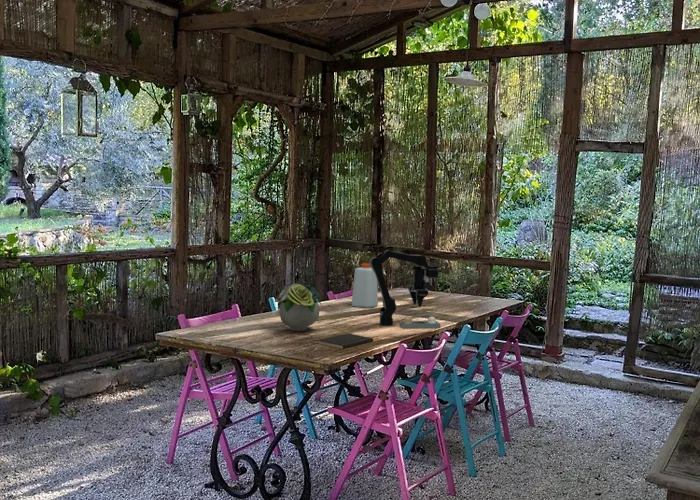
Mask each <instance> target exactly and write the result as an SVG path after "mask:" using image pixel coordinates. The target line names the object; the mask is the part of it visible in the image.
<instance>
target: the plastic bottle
mask: <svg viewBox="0 0 700 500" xmlns="http://www.w3.org/2000/svg"><path fill="white" fill-rule="evenodd" d="M353 275H354V277H353V287H352V296H351V306H352V307H354V306H356V307H355V308H362V307H364V308H363V309H372V308H375V307H378V305H379V293H378V281H377V278H376V275H375V273H374V271H373V270H372V268H371V266H370V264H369V263H364V262H363V263H361V267H356V268H355V269H354V274H353Z"/></svg>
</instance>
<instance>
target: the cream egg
mask: <svg viewBox="0 0 700 500" xmlns="http://www.w3.org/2000/svg"><path fill="white" fill-rule="evenodd" d="M427 321H428V323H436V318H435V317H434V316H429V317H428V318H427Z"/></svg>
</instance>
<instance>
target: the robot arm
mask: <svg viewBox="0 0 700 500" xmlns="http://www.w3.org/2000/svg"><path fill="white" fill-rule="evenodd" d="M390 258H391V259H396V260H399V261H400V260H401V261H404V262H409V263H412V264H413V265H412V266H410V269H411V270H413V278H412V279H411V280H412V282H413V284H412V285H409V286H408V288H407V291H408V294H409V295H410V297H411V301H412V303H413V305H416V304H417V306H418V307H419V308H421V307H422V305H423V301H424V299H425V298H426V297H427V296H429V292H433V290H434V288H435V286H434V285H431V283H430V282H429V281H426V280H425V277H426V278H427V279H438V277H439V270H438V265H429V264H428V262H427V258H426V257H425V256H424V255H421V254H408V253H402V252H399V251H392V250H389V249H386V250H384V251H383V252H381V253H380V254H377V255H376V256H372V257H370V258H369V260H368V264H370V266H371V267H370V268H372V270H373V271H374V273H375V275H376V278H377V286H378V287H379V290H380V294H381V297H382V307H381V308H380V309H379V310H378V312H379V322H378V323H379V325H380V326H386V327H388V326H393V325H394V320H393V319H394V318H393V315H394V313H395V312H396V310H397V306H398V305H397V304H396V300H395V298H393V297H392V296H391V295H390V293H389V292H390V291H389V289H388V285H387V282H386V280H385V276H384V273H383V264H384V263H385V262H386V261H387V260H389V259H390ZM416 265H417V266H416Z"/></svg>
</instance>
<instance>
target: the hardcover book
mask: <svg viewBox="0 0 700 500" xmlns="http://www.w3.org/2000/svg"><path fill="white" fill-rule="evenodd" d="M316 341H318V344H319V345H322V344H323V345H324V346H327V347H328V346H329V347H332V348H336V349H337V348H338V349H341V350H344V349H349V348H353V347H357V346H361V345H365V344H370V343H373V342H374V338H373V337H370V336H365V335H360V334H359V335H358V334H353V333H349V332H348V333H343V334H339V335H334V336H329V337H325V338H320V339H317V340H316ZM323 345H322V346H323Z"/></svg>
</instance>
